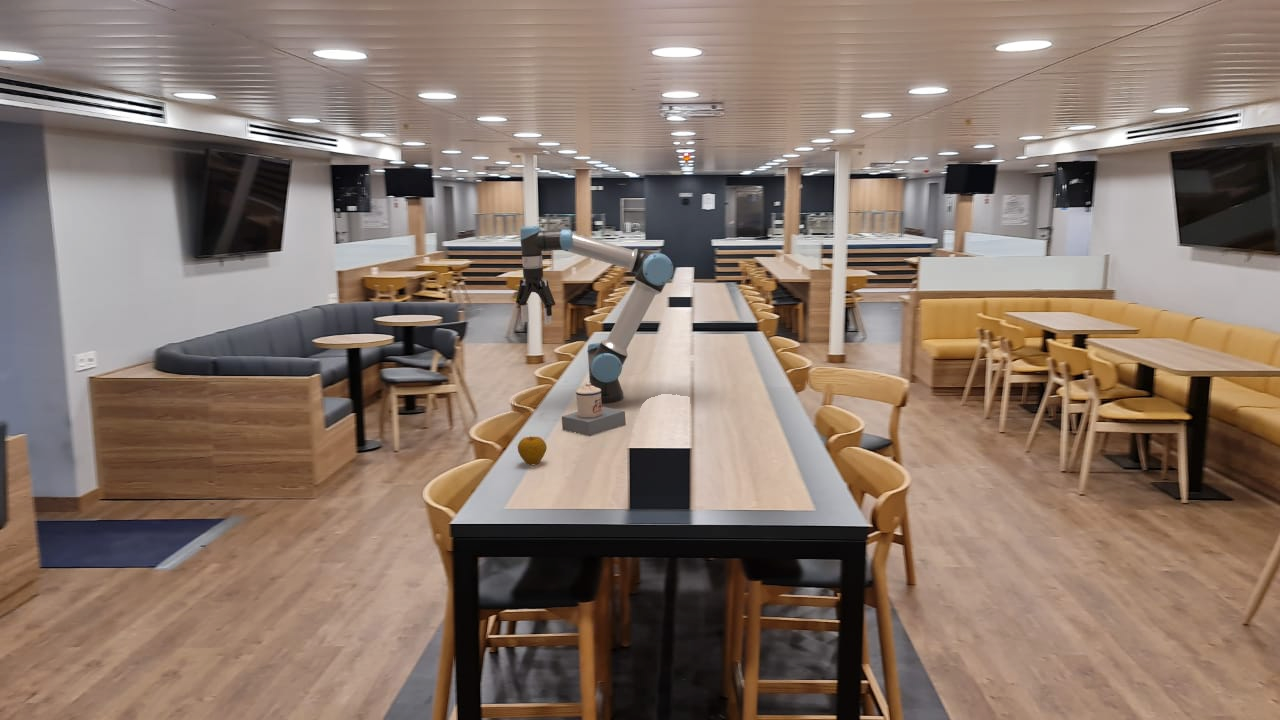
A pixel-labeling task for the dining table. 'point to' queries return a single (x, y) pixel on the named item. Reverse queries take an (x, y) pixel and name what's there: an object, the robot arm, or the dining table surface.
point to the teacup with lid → (589, 401)
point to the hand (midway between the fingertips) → (536, 323)
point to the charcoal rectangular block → (594, 422)
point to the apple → (532, 449)
